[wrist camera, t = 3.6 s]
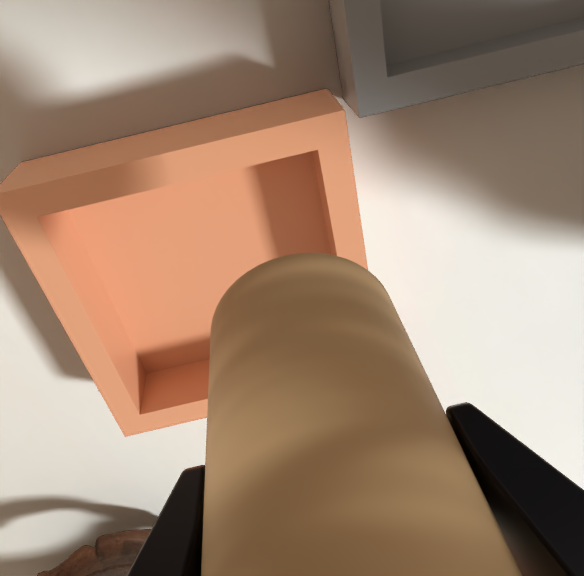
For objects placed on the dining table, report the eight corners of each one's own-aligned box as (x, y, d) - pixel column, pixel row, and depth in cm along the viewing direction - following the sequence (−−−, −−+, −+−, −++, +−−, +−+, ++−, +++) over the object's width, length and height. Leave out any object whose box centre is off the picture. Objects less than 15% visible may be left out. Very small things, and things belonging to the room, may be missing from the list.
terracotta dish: (327, 88, 18) (344, 109, 16) (366, 332, 24) (383, 375, 22) (20, 162, 18) (-11, 195, 16) (134, 386, 24) (125, 436, 22)
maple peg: (382, 231, 11) (830, 1024, 3) (403, 378, 14) (685, 1050, 5) (184, 280, 11) (72, 1178, 3) (239, 418, 14) (261, 1135, 5)
